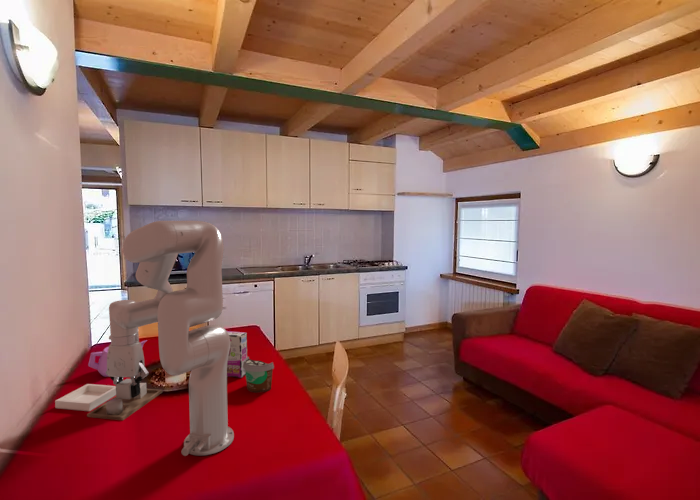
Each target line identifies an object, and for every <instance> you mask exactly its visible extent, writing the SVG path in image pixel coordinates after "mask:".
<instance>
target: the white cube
mask: <svg viewBox="0 0 700 500" xmlns="http://www.w3.org/2000/svg"><path fill="white" fill-rule="evenodd" d="M147 389H148V388H147V382H140V394H139V395H137V396H136V397H134V398H142V397H143V396H144V395H145V394H146V393H147Z"/></svg>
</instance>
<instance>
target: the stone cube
mask: <svg viewBox="0 0 700 500" xmlns="http://www.w3.org/2000/svg"><path fill="white" fill-rule="evenodd" d="M131 385H132V381H131V378H126V379H123V381H121V382H120V383H118V384H116V385H115V386H116V395H117V398H122V399H131V398H132V397H131Z"/></svg>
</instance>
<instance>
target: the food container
mask: <svg viewBox="0 0 700 500" xmlns="http://www.w3.org/2000/svg"><path fill="white" fill-rule="evenodd" d="M243 368H244V369H245V373H246V375H245V382H246V389H247V391H249V392H250V393H256V394H257V393H265V392H269V391H270V390H272V384H273V383H272V382H273V381H272V380H273V371H274V369H275V364H274V362H273V361H272V362H270V363H267V362H264V361H262V360H254V359H251V358H250V356H247V358H246V359H245V361H244V364H243Z"/></svg>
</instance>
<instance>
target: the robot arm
mask: <svg viewBox="0 0 700 500" xmlns="http://www.w3.org/2000/svg"><path fill="white" fill-rule="evenodd" d="M224 248H225V247H224V239H223V235H222V233H221V231H220V229H218V227H216V225H214V224H213V223H210V222H208V221H202V220H156V221H152V222H150V223H148V224H146V225H143V226H141V227H138V228H136V229H134V230H132V231H130V232H129V233H128V234H127V236H126V237H125V238H124V241H123V243H122V253H123V256H124V258H125V259H126V260H127V261H128V262H130V263H134V264H135V263H139V264H138V266H137V270H136V271H135V279H136V280H137V282H138V283H139V284H141V285H142V286H144V287H145V288H149V289H152V290H156V294H155V296H154V298H152V299H146V300H145V299H144V300H140V301H135V300H133V299H119V300H115V301H113V302H111V303H110V304H109V306H108V314H109V331H110V335H108V339H109V341H110V344H109V345H108V347H109V348H108V354H107V371H106V374H107V375H108V376H109V377H110V379H111V381H113V385H114V386H116V384H118V383H120V382H121V381H123V380H124V378H129V379H131V381H132V385H131V397H132V398H134V397H136V396H137V395H139V394H140V383H142V381H143V379H144V378H145V377H147V376H148V375H150V374H149V371H148V369H147V368H146V366H145V365H146V364H145V356H144V350H143V347H142V346H141V341H140V336H139V328H141V327H143V326H148V325H151V324H154V323H155V324H156V323H157V332H158V353H159V359H160V364H161V367H162V369H163V370H164V371H165V372H166V373H167V374H168V375H171V376H180V375H183V374H186V373H188V372H190V374H189V379H188V403H189V406H188V407H189V408H188V410H189V434H188V435H187V436H186V437H185V439H184V440H183V448H182V449H181V455H182V456H184V457H186V456H188V455H189V454H190V455H192V456H200V457H201V456H209V455H212V454H216V453H218V452H219V453H220V452H221V451H223V450H224V449H227V447H229V446H230V445H232V443H233V441H234V438H235V433H234V430H233V429H232V428H231V427H230V426H228V425H229V423H228V422H229V419H228V414H229V412H228V376H227V362H228V356H229V351H230V337H229V334H228V332H227V331H228V330H226V329H225V328H224V327H223V326H222V325H217V324H210V325H204V326H200V327H198V328H194V329H191V330H190V328H191V327H195V326H199V325H203V324H206V323H209V322H212V321H215V320H217V319H218V318H220V316H221V315H222V312H223V307H224V306H223V303H224V301H223V299H224V298H223V274H222V271H223V270H222V269H223V266H222V265H223V256H224V250H225V249H224ZM187 253H188V254H189V253H194V255H193V256H192V258H191V259H190V261H189V264H188V265H187V269H186V288H185V289H179V290H174V291H173V288H172V286H171V284H170V282H169V278H170V275H171V272H172V270H173V268H174V266H175V263H176V261H177V257H178V255H179V254H187ZM115 397H117V395H116V396H115Z"/></svg>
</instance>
